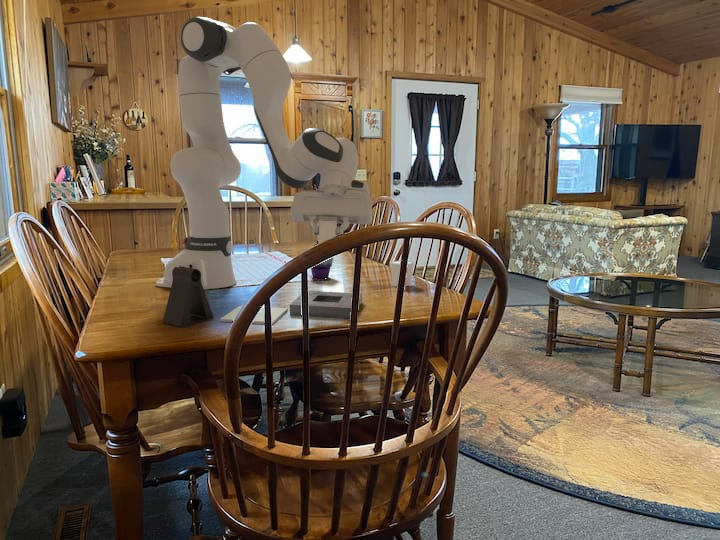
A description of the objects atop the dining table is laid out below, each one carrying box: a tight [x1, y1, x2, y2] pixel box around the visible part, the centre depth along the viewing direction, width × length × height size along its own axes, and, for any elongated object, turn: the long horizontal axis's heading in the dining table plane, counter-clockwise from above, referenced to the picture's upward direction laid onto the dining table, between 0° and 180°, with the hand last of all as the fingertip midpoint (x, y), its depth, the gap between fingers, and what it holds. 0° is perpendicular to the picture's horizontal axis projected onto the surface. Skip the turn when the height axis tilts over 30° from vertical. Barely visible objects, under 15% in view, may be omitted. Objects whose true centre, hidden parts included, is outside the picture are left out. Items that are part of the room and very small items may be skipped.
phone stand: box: [162, 266, 214, 329], centre depth 116 cm, size 9×6×12 cm, turn 147°
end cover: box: [318, 216, 338, 244], centre depth 127 cm, size 4×4×9 cm
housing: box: [289, 290, 363, 319], centre depth 130 cm, size 15×15×2 cm
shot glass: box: [390, 260, 415, 288], centre depth 158 cm, size 7×7×7 cm
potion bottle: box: [310, 239, 334, 280], centre depth 166 cm, size 9×9×12 cm
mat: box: [219, 305, 289, 326], centre depth 122 cm, size 12×12×1 cm
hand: (327, 234), depth 126 cm, fingers closed on end cover, 4 cm apart
